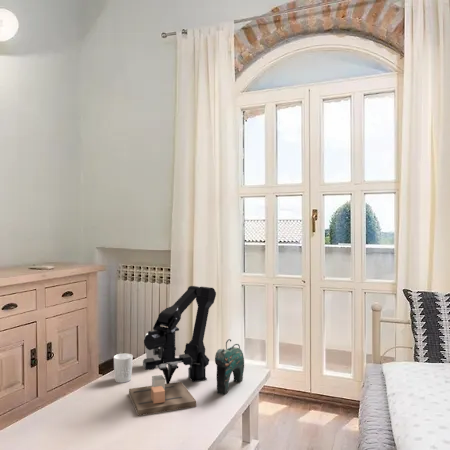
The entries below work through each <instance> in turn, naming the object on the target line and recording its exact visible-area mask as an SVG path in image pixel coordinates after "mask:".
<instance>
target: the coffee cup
mask: <svg viewBox="0 0 450 450" xmlns="http://www.w3.org/2000/svg"><path fill="white" fill-rule="evenodd" d="M146 335H148V332H146V334H145V336H144V338H143V340H144V339H145V337H146ZM159 349H160V347H159ZM145 355H146V359H147V358H154V360H161V359H159V357H158V355H153V349H152V350H148V349H147V348H146V347H145ZM155 369H159V368H158V365H156V368H155Z"/></svg>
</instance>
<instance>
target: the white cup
mask: <svg viewBox="0 0 450 450" xmlns="http://www.w3.org/2000/svg"><path fill="white" fill-rule="evenodd" d="M133 357H134V356H133V354H131V353H118V354H116V355H114V356H113V371H114V381H115V382H117V383H122V384H123V383H127V382H130V381H131V380H132V373H133Z"/></svg>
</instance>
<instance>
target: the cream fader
mask: <svg viewBox="0 0 450 450" xmlns="http://www.w3.org/2000/svg"><path fill="white" fill-rule="evenodd" d="M165 384H166V380H165V377H164V375H163V374H159V375H158V374H157V375H153V376H151V386H152V387H157V386H162V387H163V389H164V390H165Z"/></svg>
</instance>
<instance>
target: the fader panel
mask: <svg viewBox="0 0 450 450" xmlns="http://www.w3.org/2000/svg"><path fill="white" fill-rule="evenodd" d="M151 387H152V385H146V386H141V387H139V386H138V387H133V388H129V389H128V395H129V397H130V401H131V402H132V404H133V406H134V409H135V412H136V415H137V416H138V417H139V416H140V417H141V416H147V415H152V414H158V413H164V412H170V411H171V412H172V411H176V410H183V409H188V408H194V407H197V400H196V398H195V397H194V396H193V395H192V394H191V393H190V391H189V389H188V388H187V387H186V386H185V384H183V382H182V381H176V382H175V381H174V382H169V384H167V383H165V402H162V403H155V404H154V403H153V401H152V399H151Z"/></svg>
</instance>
